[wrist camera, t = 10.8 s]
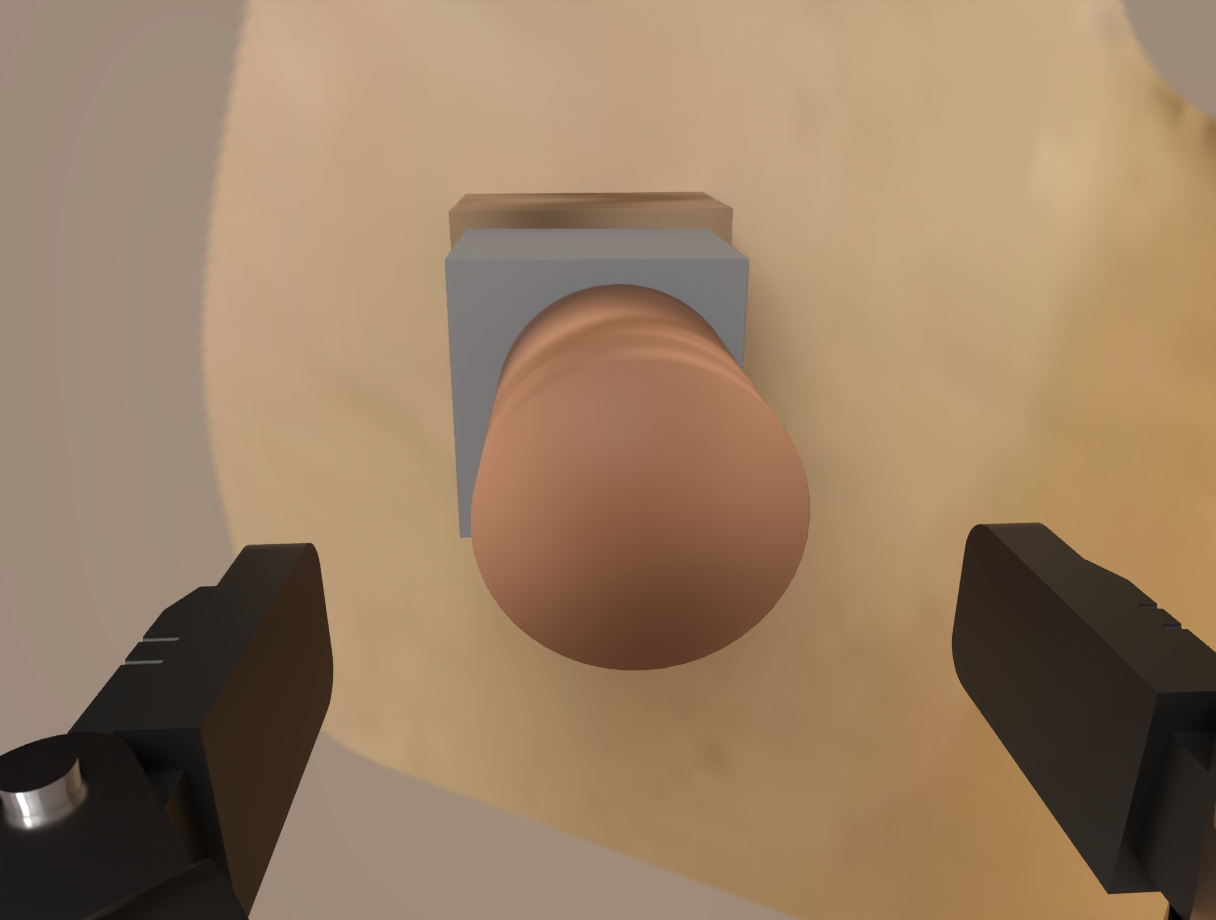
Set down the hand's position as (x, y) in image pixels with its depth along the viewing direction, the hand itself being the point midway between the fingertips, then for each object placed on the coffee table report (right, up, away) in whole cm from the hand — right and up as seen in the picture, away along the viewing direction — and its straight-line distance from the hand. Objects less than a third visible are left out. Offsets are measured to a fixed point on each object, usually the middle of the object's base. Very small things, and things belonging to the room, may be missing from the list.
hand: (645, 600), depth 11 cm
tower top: (-1, +5, +12) cm, 13 cm away
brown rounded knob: (0, +3, +8) cm, 8 cm away
